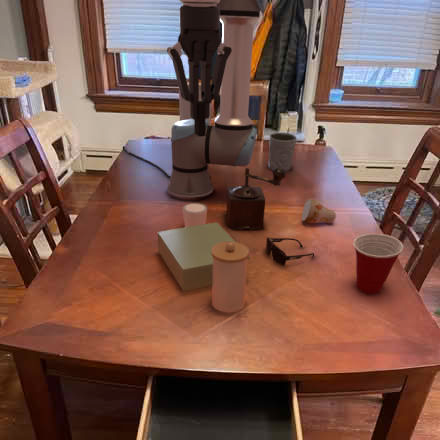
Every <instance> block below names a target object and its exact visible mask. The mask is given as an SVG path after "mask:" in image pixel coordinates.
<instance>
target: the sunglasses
mask: <svg viewBox="0 0 440 440" xmlns="http://www.w3.org/2000/svg"><path fill="white" fill-rule="evenodd" d="M283 241H294V242H297V243H298V244H299V247H300V248H301V249H303V247H304V246H303V244H302V243H301V241H300V240H298V239H297V238H291V237H290V238H289V237H275V238H273V237H268V236H267V237H266V245H265V246H266V252H267V256H271V255H272V260H273V261H274V262H276V263H277V264H280V265H282V266H285V265H286V263H287V261H292V260H293V261H294V260H300V259H302V258H303V257H309V256H312V258H315V253H314V252H311V253H308V254H299V255H298V254H297V255H296V254H295V255H286V252H285V251H284V250H283V249H281V248H280V247H279V246H277V244H275V243H281V242H283Z"/></svg>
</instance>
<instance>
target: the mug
mask: <svg viewBox="0 0 440 440" xmlns="http://www.w3.org/2000/svg"><path fill="white" fill-rule="evenodd" d="M336 218H337V213H336V211H335V210H333V209H330V208H328V207H326V206H325V205H324V204H322V203H321V202H320V201H319V200H317V199H314V198H313V199H312V198H309V199H308V200H307V201H306V202H305V204H304V206H303V209H302V213H301V221H302V222H304V223H305V224H306V223H307V224H319V223H326V224H332V223H334V222H335V221H336Z"/></svg>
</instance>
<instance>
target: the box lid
mask: <svg viewBox="0 0 440 440" xmlns="http://www.w3.org/2000/svg"><path fill="white" fill-rule="evenodd" d="M158 236H159V237H160V239H161V240H162V242H163V243H164V245H165V246H166V248H167V249H168V251H169V252H170V254H171V255H172V257H173V258H174V260H175V261H176V263H177V264H178V266H179V267H180V269H181V270H182V272H188V271H193V270H198V269H203V268H208V267H212V261H213V257H212V255H211V249H212V247H213V246H214V245H216V244H218V243H221V242H236V241H235V240H234V239H233V238H232V236H231V235H230V234H229V233H228V232H227V231H226V230H225V229H224V227H222V226H221V225H220V223H218V222H209V223H206V224H203V225H197V226H190V227H185V226H184V227H180V228H172V229H167V230H160V231H157V237H158ZM249 260H250V255H249V256H248V258H247V261H249Z"/></svg>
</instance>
